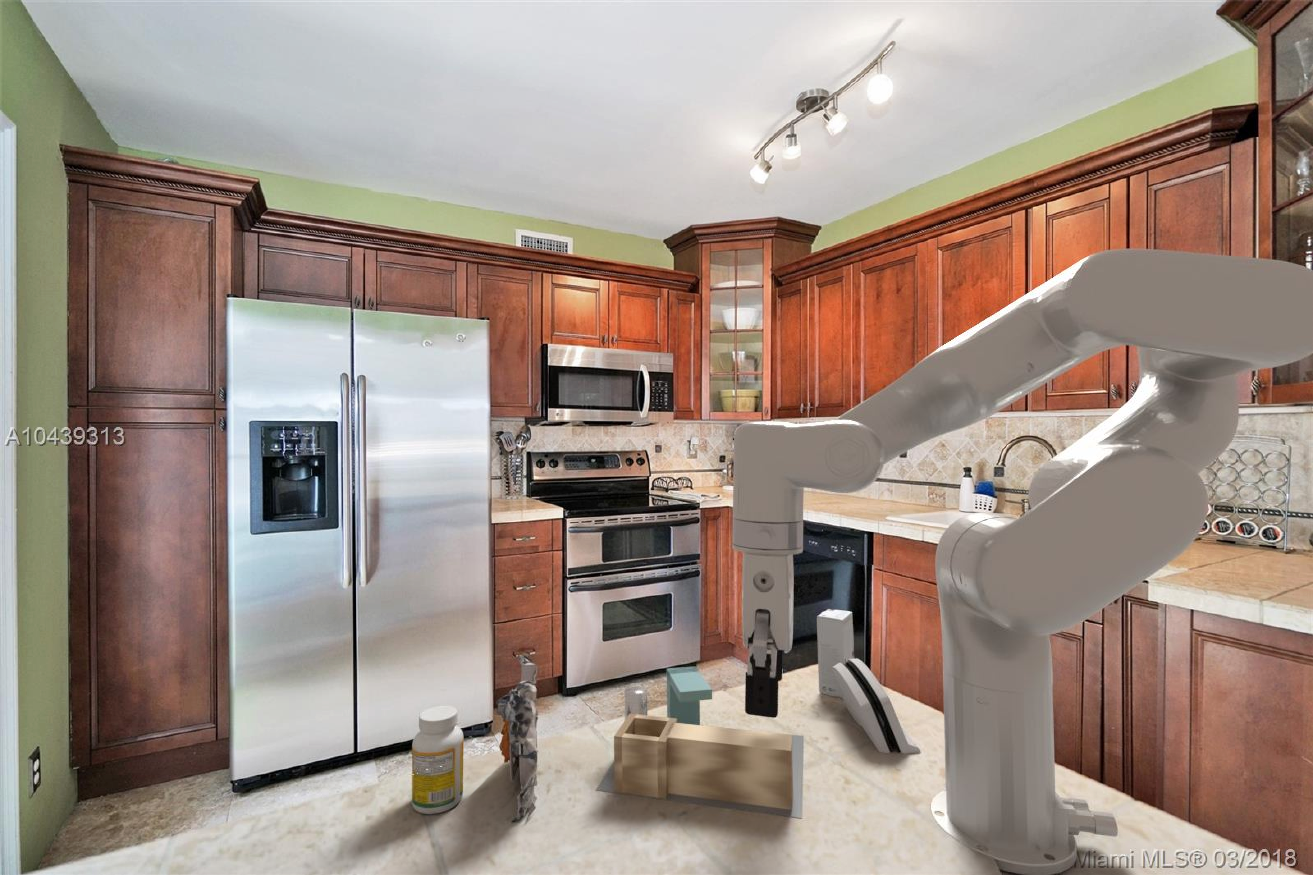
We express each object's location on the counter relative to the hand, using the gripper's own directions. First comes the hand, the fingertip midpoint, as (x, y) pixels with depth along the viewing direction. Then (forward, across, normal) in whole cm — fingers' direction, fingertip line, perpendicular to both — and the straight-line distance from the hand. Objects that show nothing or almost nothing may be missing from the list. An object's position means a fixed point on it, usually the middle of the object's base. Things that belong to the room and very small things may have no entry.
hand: (764, 695), depth 64 cm
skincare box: (+12, +35, -9) cm, 38 cm away
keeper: (+11, +10, +10) cm, 18 cm away
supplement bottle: (+13, -7, +35) cm, 38 cm away
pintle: (+11, +6, +16) cm, 20 cm away
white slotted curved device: (+12, +21, -13) cm, 27 cm away
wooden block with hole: (+11, 0, +6) cm, 13 cm away
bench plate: (+12, +6, +7) cm, 15 cm away
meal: (+13, -3, +27) cm, 30 cm away
